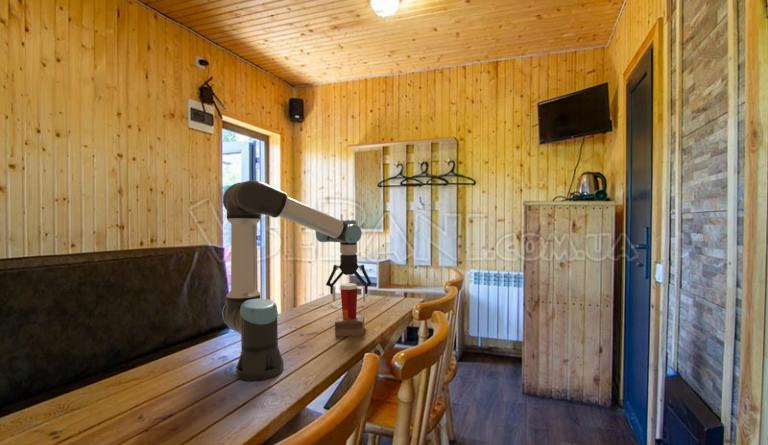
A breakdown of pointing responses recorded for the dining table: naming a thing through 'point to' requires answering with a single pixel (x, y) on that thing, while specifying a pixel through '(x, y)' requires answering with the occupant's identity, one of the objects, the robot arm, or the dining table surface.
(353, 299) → the coffee cup
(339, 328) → the riser
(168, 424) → the dining table surface
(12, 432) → the dining table surface
